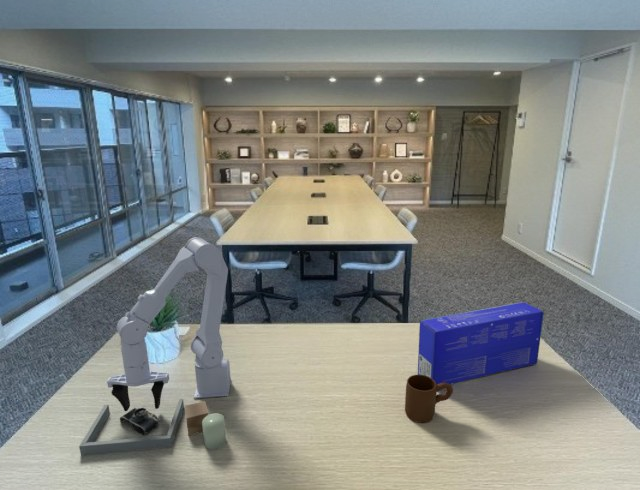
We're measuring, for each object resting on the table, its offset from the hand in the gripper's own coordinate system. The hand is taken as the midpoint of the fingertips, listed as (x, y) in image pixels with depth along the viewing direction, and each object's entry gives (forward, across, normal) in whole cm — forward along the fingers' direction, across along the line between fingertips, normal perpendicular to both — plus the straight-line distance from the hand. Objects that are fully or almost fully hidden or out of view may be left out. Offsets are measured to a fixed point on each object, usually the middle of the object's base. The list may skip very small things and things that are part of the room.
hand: (142, 407), depth 105 cm
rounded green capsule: (+2, -20, +12) cm, 24 cm away
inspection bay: (+2, 0, +6) cm, 6 cm away
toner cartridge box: (+2, -97, -8) cm, 97 cm away
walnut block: (+2, -15, +6) cm, 16 cm away
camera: (+2, 0, +4) cm, 4 cm away
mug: (+2, -74, +10) cm, 75 cm away
